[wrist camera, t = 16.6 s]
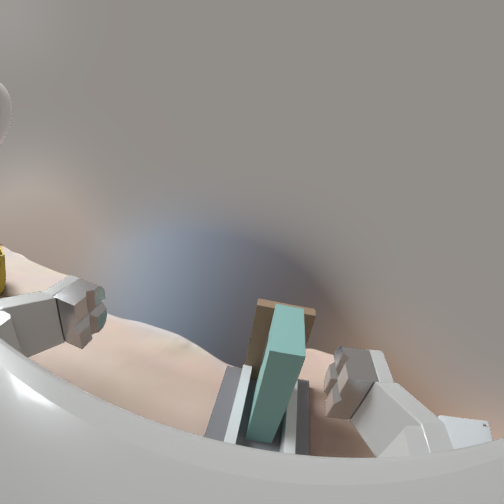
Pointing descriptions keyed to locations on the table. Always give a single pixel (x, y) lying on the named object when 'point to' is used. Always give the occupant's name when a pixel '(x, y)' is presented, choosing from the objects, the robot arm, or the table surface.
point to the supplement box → (466, 431)
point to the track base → (243, 387)
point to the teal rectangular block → (277, 372)
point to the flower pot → (2, 271)
